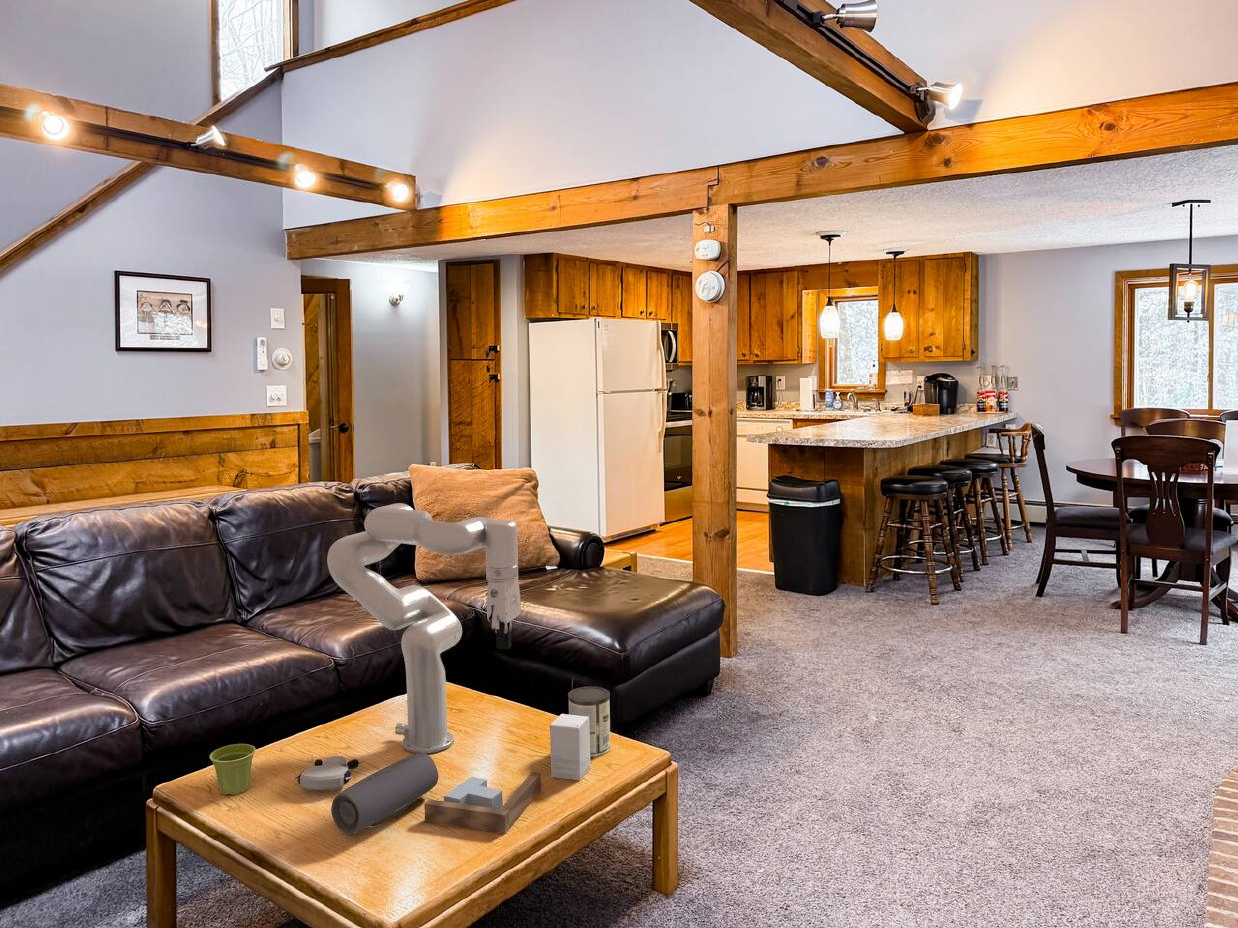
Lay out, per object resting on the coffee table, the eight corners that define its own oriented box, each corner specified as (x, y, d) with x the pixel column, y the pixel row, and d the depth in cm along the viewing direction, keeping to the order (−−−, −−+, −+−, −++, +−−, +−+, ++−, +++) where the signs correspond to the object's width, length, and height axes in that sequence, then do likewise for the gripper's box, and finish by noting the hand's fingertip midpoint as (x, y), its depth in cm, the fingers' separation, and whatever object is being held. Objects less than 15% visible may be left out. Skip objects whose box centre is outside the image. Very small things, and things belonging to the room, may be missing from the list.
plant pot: (222, 803, 196) (220, 765, 195) (204, 790, 202) (202, 752, 201) (264, 788, 203) (262, 751, 202) (245, 776, 209) (243, 740, 208)
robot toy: (313, 772, 213) (290, 796, 198) (313, 753, 213) (290, 776, 198) (365, 771, 213) (346, 796, 198) (365, 752, 213) (346, 776, 198)
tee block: (444, 813, 191) (443, 795, 190) (472, 793, 200) (471, 776, 199) (484, 823, 186) (483, 804, 186) (510, 802, 195) (510, 784, 195)
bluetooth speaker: (409, 788, 202) (408, 745, 201) (441, 798, 197) (439, 754, 196) (329, 833, 183) (327, 786, 182) (362, 845, 178) (360, 796, 177)
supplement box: (591, 768, 212) (590, 716, 211) (579, 781, 205) (579, 727, 204) (562, 764, 214) (561, 712, 213) (549, 777, 208) (549, 724, 206)
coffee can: (572, 739, 229) (571, 685, 227) (612, 740, 228) (612, 686, 226) (565, 756, 219) (564, 700, 217) (608, 758, 218) (607, 701, 216)
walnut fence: (424, 821, 187) (424, 803, 187) (467, 780, 206) (467, 763, 206) (505, 833, 182) (504, 814, 182) (541, 789, 201) (540, 772, 201)
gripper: (504, 580, 206) (505, 658, 208) (528, 566, 220) (530, 640, 222) (474, 578, 208) (475, 656, 210) (500, 565, 222) (501, 637, 224)
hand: (503, 647), depth 216 cm, fingers closed
